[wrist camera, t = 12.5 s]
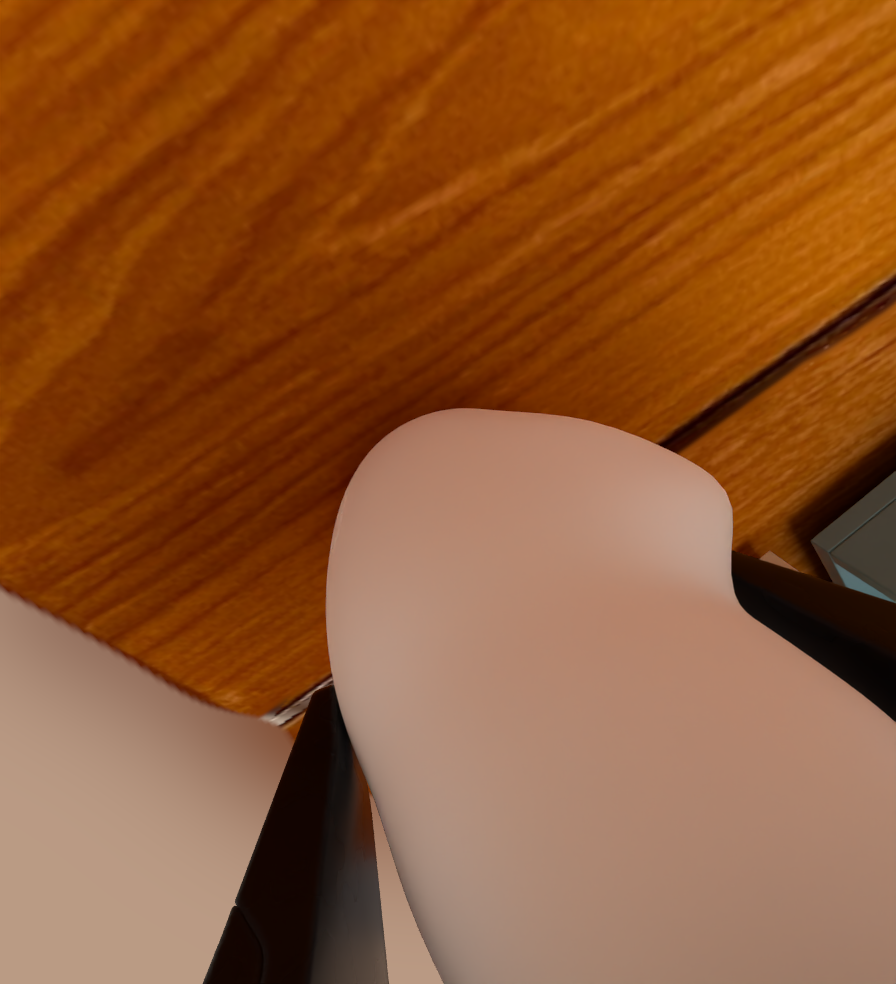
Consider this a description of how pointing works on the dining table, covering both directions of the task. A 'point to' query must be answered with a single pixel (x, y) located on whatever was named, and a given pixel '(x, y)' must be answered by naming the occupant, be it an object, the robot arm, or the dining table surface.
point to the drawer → (861, 544)
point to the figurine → (598, 720)
